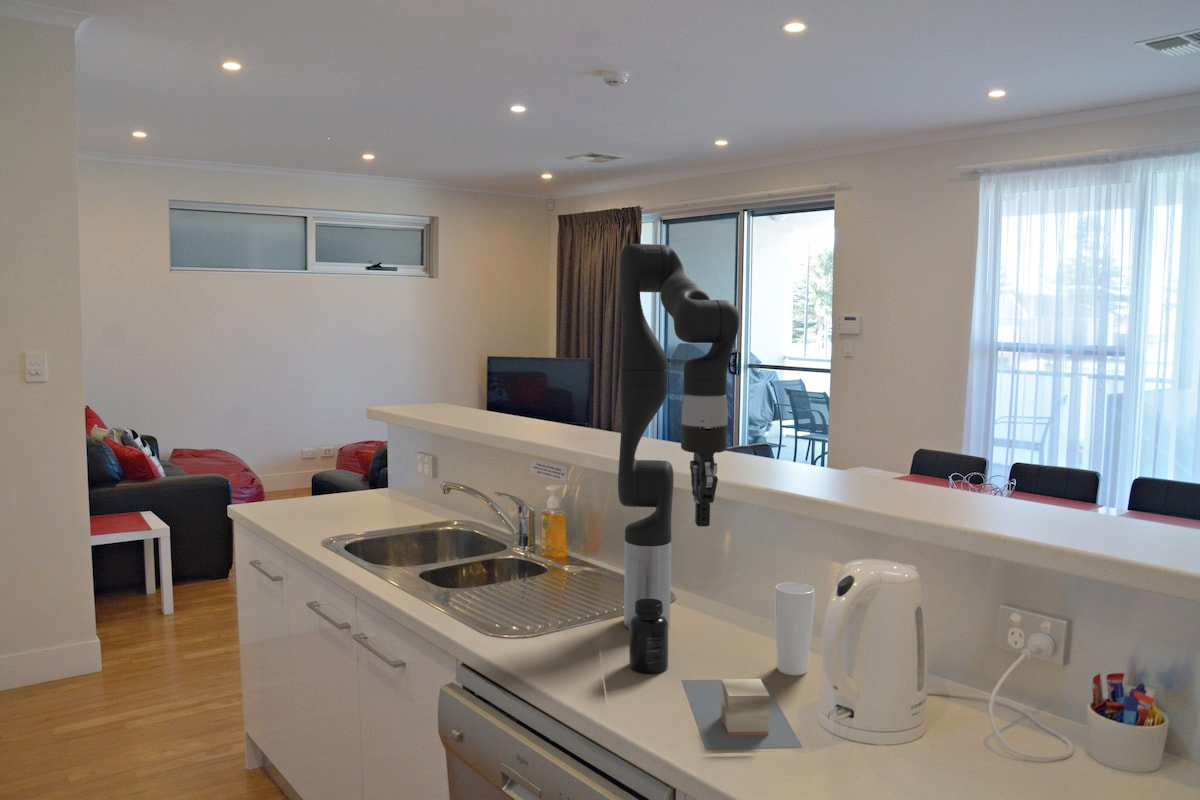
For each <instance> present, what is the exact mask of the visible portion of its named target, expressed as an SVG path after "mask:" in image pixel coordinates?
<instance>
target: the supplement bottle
mask: <svg viewBox="0 0 1200 800" xmlns="http://www.w3.org/2000/svg"><path fill="white" fill-rule="evenodd" d="M635 613H636V615H635V616H633V617H632V618H631V620H630V624H629V628H628V629H629V636H628V637H629V641H628V642H629V643H628V644H629V653H628V655H629V656H628V657H629V659H628V660H629V668H630V670H632V671H633V672H635V673H637V674H640V675H641V674H642V675H658V674H662V673H664V672H666V671H667V670H668V668H669V627H668V621H667V619H666V618H665V617H664V616H662V615H661V614H662V613H663V603H662V601H660V600H657V599H651V598H645V599H639V600H637V601H636V602H635Z"/></svg>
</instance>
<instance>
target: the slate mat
mask: <svg viewBox="0 0 1200 800" xmlns="http://www.w3.org/2000/svg"><path fill="white" fill-rule="evenodd" d="M760 679H761V681H762V683H763V685H764V686H765V688H766V690H767V692H768V693H769V695H770V702H769V735H728V734H727V731H726V729H725V727H724V724H723V722H722V719H721V679H681V682H682V685H683V688H684V691H685V693H686V696H687V699H688V702H689V706H690V708H691V711H692V714H693V717H694V720H695V723H696V725H697V729H698V732H699V734H700V738H701V739H702V742H703V746H704V748H705V750H750V749H752V750H753V749H754V750H755V749H756V750H758V749H764V750H765V749H803V748H804V747H803V745H802V743H801V742H800V740H799V738H798V736H797V735H796V733H795V731H794V729H793V727H792V726H791V724H790V723H789V720H788V719H787V717H786V715H785V714H784V712H783V710H782V708H781V707H780V705H779V703H778V701H777V700H776V697H775V696H774V694H773V693H772V691H771V689H770V688H769V685H768V683H766V680H765V679H764V678H760Z"/></svg>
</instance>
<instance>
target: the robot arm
mask: <svg viewBox="0 0 1200 800" xmlns="http://www.w3.org/2000/svg"><path fill="white" fill-rule="evenodd" d="M619 286H620V287H619V288H620V289H619V290H620V305H621V355H620V356H621V357H620V358H621V359H620V415H621V416H620V419H621V420H620V421H621V422H620V424H621V425H620V427H621V428H620V444H619V445H620V447H619V459H618V473H617V477H618V478H617V492H618V493H617V494H618V495H617V496H618V500H619V502H620V504H621V505H622V506H624V507H631V508H633V507H634V508H637V507H638V508H655V511H653V513H651V514H649V516H646V517H644V518H642V519H639V520H635V521H634V522H631V523H629V524H627V525H626V527H625V529H624V585H623V588H624V589H623V590H624V592H623V594H624V595H623V599H624V600H623V625H624V627H626V628H627V629H629V624H630V620H631V618H632V617H633V616H635V615H636V613H635V602H636V601H637V600H639V599H645V598H651V599H657V600H660V601H662V603H663V613H662V614H661V615H662V616H664V617H665V618H666V619H667V621H668V628H669V627H670V626H671V593H672V591H671V588H672V587H671V586H672V585H671V583H672V582H671V580H672V577H671V575H672V513H673V512H672V508H673V495H674V482H675V481H674V479H675V478H674V469H673V466H672V464H671V462H669V461H667V460H662V459H661V460H659V459H657V460H656V459H655V460H653V459H651V460H650V459H649V460H648V459H636V452H637V450H638V449H637V448H638V445H639V444H640V441H641V439H642V438H643V435H644V433H645V432H646V429H647V428H648V426H649V425H650V423H651V421H652V420H653V419H654V418H655V416H656V414H657V413H658V412H659V410H660V409H661V407H662V406H663V404H664V401H665V400H666V398H667V395H668V383H669V382H668V381H669V380H668V379H669V378H668V376H669V374H668V373H669V362H668V358H667V355H666V352H665V351H664V349H663V347H662V345H661V344H660V342H659V340H658V339H657V336H656V335H655V334H654V332H653V331H652V328H651V327H650V326H649V323H648V321H647V320H646V316H645V314H644V309H643V306H642V302H641V293H660V301H661V304H662V307H663V309H665V311H666V312H667V314H669V316H670V317H672V320H673V328H674V333H675V336H676V337H677V338H678V339H679V340H680V341H683V342H684V343H688V344H689V343H690V344H712V345H711V347H710V349H709V351H708V352H707V353H706V354H705V355H703V356H698V357H693V358H691V359H690V358H689V359H687V361H685V363H684V366H683V396H682V403H681V423H680V425H681V427H680V429H681V432H680V434H681V435H680V448H681V449H682V450H683V451H685V452H689V453H692V454H693V460H690V463H689V470H690V478H691V488H692V490H691V494H692V496H693V501H694V503H695V505H694V506H695V507H694V511H695V513H694V523H695V524H696V526H697V527H710V522H711V519H710V518H711V505H712V503H714V501H715V495H716V490H717V485H718V480H719V478H718V476H717V474H718V463H717V462H715V457H714V455H715V454H716V453H718V454H719V453H723V452H725V451H726V450H727V447H728V419H729V418H728V415H729V413H728V411H729V409H728V400H727V384H728V379H727V378H728V368H729V363H730V358H731V357H732V356H731V355H732V351H733V348H734V344H735V342H736V338H737V335H738V331H739V328H740V315H739V311H738V309H737V307H736V305H735V304H734V303H733V302H731V301H730V300H725V299H710V296H709V295H708V293H707V292H706V291H705V290H704V289H703V288H702V287H701V286H699V284H697V282H695V281H694V280H693V278H691V276H690V274H689V272H688V270H687V268H686V266H685V264H684V262H683V260H682V258H681V257H680V255H679V254H678V251H676V250H675V249H674V248H673V247H671V246H670V245H666V244H651V243H649V244H648V243H627V244H625V246H623V248H622V251H621V254H620V259H619Z"/></svg>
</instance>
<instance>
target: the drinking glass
mask: <svg viewBox="0 0 1200 800" xmlns="http://www.w3.org/2000/svg"><path fill="white" fill-rule="evenodd" d="M774 587H775V588H774V604H773V606H774V608H773V610H774V611H773V612H774V625H775V626H774V627H775V630H774V631H775V641H776V669H777V671H778V672H780V673H782V674H784V675H789V676H803V675H805V674H807V673H808V670H809V658H810V648H811V641H812V640H811V639H812V633H813V626H814V624H813V623H814V615H815V588H814V587H813V586H811V585H809V584H806V583H801V582H793V581H791V582H790V581H789V582H788V581H787V582H780V583H778V584H776V585H775V586H774Z"/></svg>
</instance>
